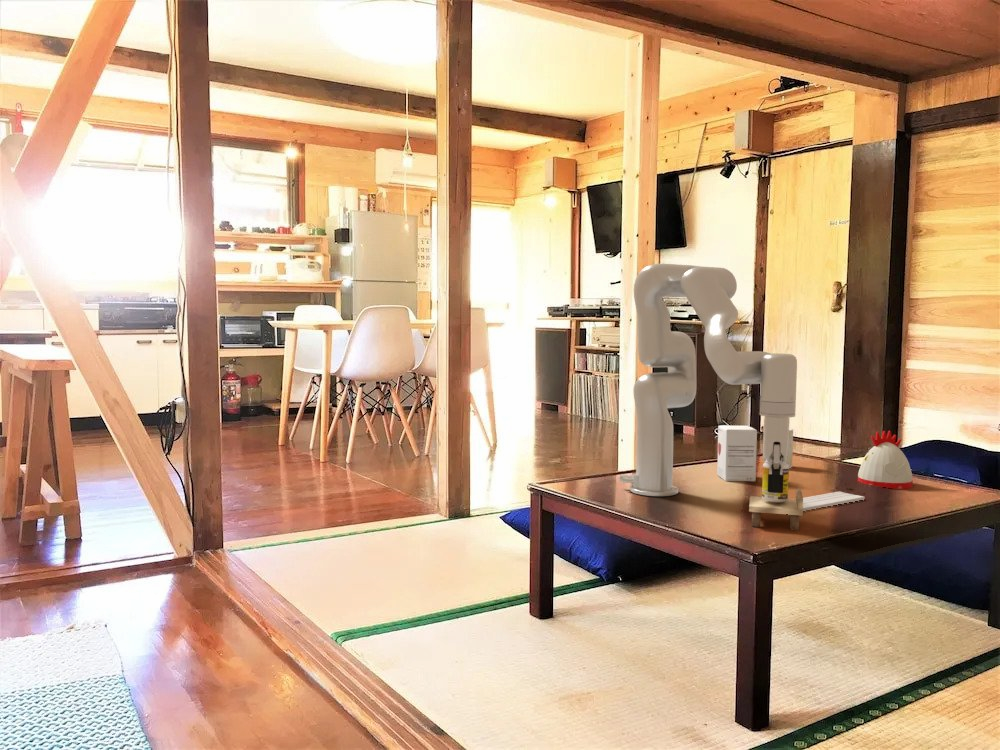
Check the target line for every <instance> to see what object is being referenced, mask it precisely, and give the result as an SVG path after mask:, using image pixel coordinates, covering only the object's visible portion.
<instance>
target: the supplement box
mask: <svg viewBox="0 0 1000 750" xmlns="http://www.w3.org/2000/svg"><path fill="white" fill-rule="evenodd" d="M757 438H758V430H757V429H755V428H754V427H752V426H750V425H727V424H723V425H718V426H717V467H716V468H717V471H716V472H717V473H716V475H717V476H718V477H719V478H721V480H723V481H725V482H756V480H757V479H756V478H757V447H758V443H757V442H758V439H757Z"/></svg>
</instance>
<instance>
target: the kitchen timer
mask: <svg viewBox="0 0 1000 750" xmlns="http://www.w3.org/2000/svg"><path fill="white" fill-rule="evenodd" d="M870 437H871V438H870V439H871V441H872V444H873V445H874V446H872V447H871V448H870V449H869V450H868V451H867V452H866V454H865V456H863V457H864V458H863V460H862V461H861V464H860V467H859V470H858V473H857V482H858V481H859V482H861V483H864V484H868V485H874V486H879V487H886V488H885V489H888V488H893V489H894V490H902V489H903V490H904V489H905V490H906V489H911V488H912V487H913V485H914V484H913V483H914V480H913V479H914V477H913V473H912V470H911V466H910V462H909V461H908V458H907V457H906V455H905V454H904V452H903V451H902V450H901V449H900V448H899V446H900V444H901V442H902V439H901V438H899V439H898V440H897V442H896V439H897V435H896V434H893V436H892V432H891V431H890V430H888V431H887V434H886V431H885V430H882V434H881V435H880V433H879V431H878V430H877V431H876V432H875V437H874V436H873V435H871V436H870ZM910 487H911V488H910ZM893 489H892V490H893Z"/></svg>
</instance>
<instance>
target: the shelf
mask: <svg viewBox="0 0 1000 750" xmlns="http://www.w3.org/2000/svg"><path fill="white" fill-rule="evenodd" d="M803 498H804V497H803V492H802V489H801V488H796V489H795V498H788V499H787V501H785V502H771V501H766V500H764V499H763V498H762V496H755V495H749V505H748V508H749V509H748V512H750V513H751V527H752V526H755V527H754V528H760V527H761V513H763V514H778V515H786V514H788V515H787V516H788V521H789V522H790V523H789V529H790V530H791V529H793V530H792V531H799V530H800V516H804V515H803V514H804V512H803ZM759 526H760V527H759Z"/></svg>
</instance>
